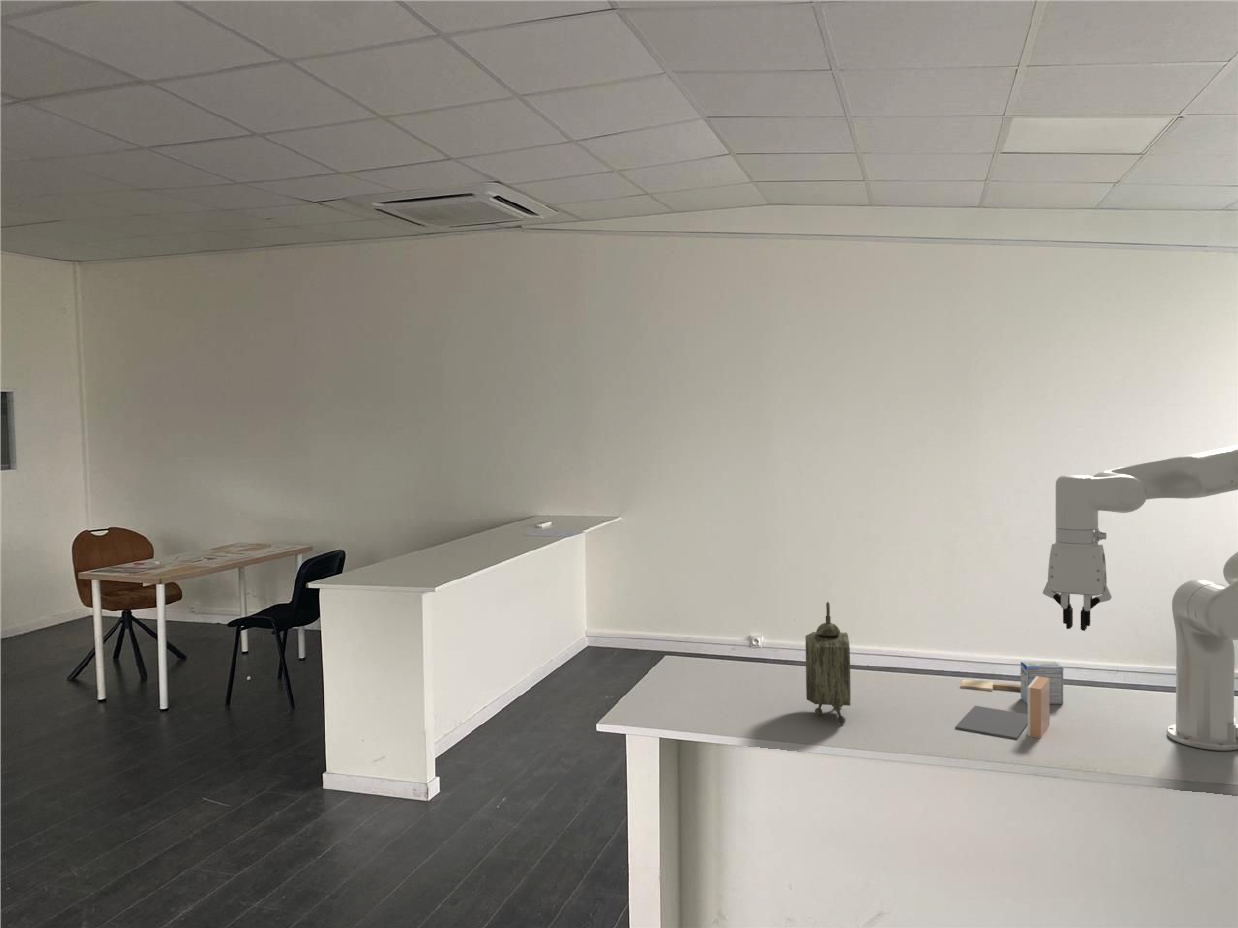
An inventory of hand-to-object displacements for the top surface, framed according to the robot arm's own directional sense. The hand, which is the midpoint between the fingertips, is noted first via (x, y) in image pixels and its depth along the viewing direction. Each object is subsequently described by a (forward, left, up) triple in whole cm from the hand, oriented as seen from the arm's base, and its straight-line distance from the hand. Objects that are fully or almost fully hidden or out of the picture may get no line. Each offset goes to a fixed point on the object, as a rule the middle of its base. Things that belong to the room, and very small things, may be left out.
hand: (1076, 627), depth 175 cm
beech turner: (+21, -25, -22) cm, 39 cm away
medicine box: (+10, -20, -22) cm, 32 cm away
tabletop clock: (+47, +14, -22) cm, 54 cm away
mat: (+16, 0, -22) cm, 27 cm away
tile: (+7, 0, -22) cm, 23 cm away
